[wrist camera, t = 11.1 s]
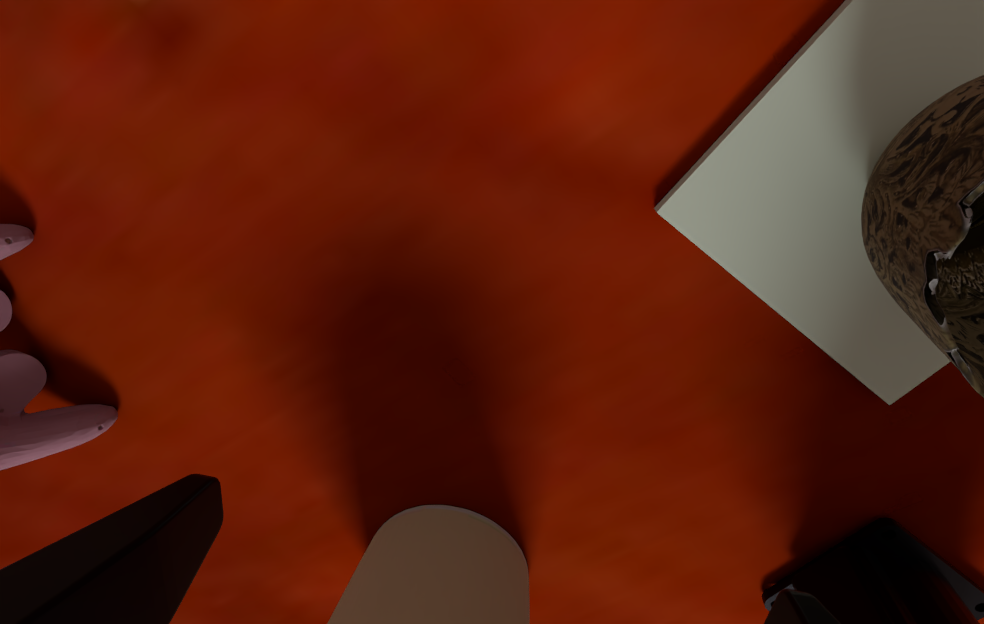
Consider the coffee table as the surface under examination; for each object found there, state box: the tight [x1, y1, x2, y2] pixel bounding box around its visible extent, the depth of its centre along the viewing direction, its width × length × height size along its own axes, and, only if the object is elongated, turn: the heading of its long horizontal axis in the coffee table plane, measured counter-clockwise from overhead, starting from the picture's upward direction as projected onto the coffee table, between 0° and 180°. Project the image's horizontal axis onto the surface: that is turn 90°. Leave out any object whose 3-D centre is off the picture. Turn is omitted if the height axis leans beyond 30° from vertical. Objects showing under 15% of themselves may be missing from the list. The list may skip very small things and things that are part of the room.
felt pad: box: [654, 0, 984, 405], centre depth 17 cm, size 11×11×1 cm
